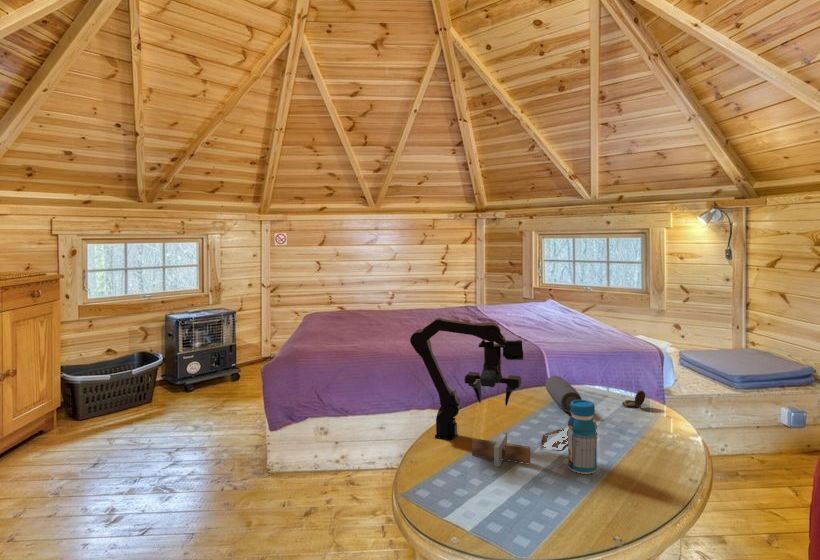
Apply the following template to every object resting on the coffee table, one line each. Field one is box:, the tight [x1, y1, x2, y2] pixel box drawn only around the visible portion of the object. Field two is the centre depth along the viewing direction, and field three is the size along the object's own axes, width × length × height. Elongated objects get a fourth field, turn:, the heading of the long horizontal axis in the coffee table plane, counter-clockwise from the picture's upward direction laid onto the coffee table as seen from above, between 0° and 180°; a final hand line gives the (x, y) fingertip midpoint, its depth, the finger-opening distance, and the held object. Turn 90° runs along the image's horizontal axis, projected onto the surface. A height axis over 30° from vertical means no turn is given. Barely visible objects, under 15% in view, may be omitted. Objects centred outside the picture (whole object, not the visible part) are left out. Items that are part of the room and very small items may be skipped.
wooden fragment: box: [539, 428, 568, 449], centre depth 165 cm, size 26×11×1 cm, turn 132°
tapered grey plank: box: [493, 431, 508, 467], centre depth 151 cm, size 2×12×6 cm, turn 156°
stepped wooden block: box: [471, 438, 531, 464], centre depth 150 cm, size 18×2×5 cm, turn 66°
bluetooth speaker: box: [544, 375, 583, 413], centre depth 196 cm, size 23×9×10 cm, turn 179°
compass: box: [621, 390, 646, 409], centre depth 193 cm, size 8×8×7 cm
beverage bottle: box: [567, 399, 599, 475], centre depth 142 cm, size 8×8×20 cm
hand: (493, 404), depth 166 cm, fingers open, 9 cm apart
